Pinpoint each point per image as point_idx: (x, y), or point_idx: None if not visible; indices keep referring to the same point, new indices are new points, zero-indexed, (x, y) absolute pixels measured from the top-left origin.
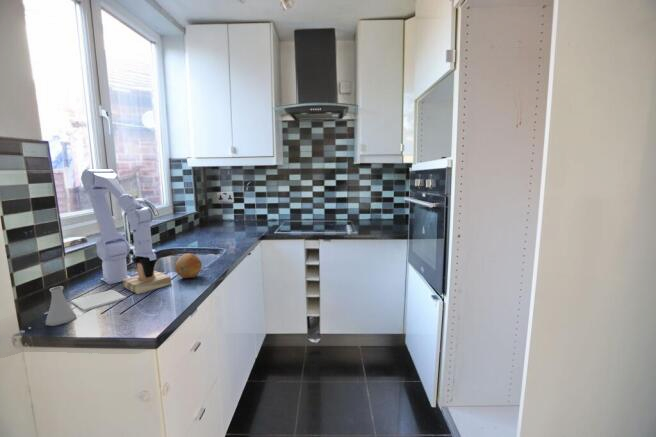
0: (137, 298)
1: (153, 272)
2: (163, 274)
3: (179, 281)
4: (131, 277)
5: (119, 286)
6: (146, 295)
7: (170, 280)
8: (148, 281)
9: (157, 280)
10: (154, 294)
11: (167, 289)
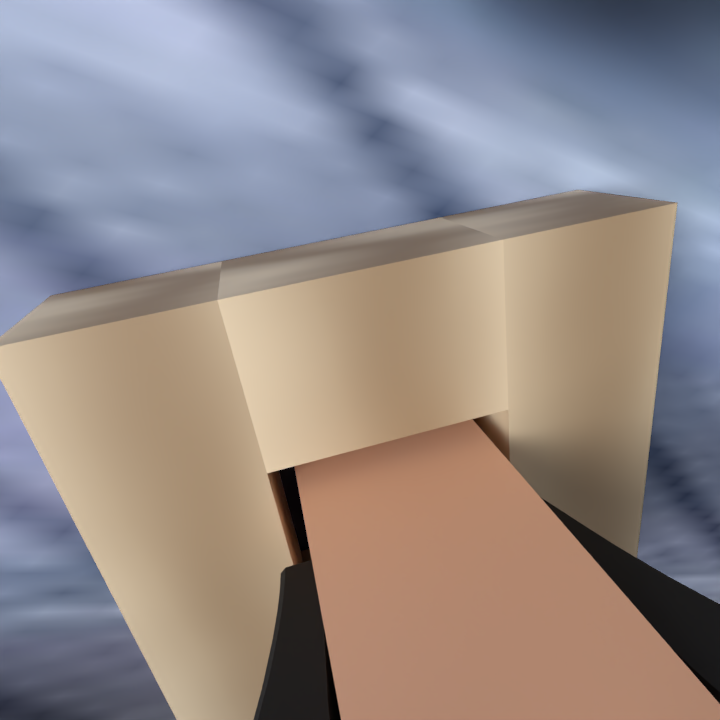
0: (663, 556)
1: (539, 508)
2: (433, 269)
3: (568, 20)
4: (192, 701)
5: (151, 698)
6: (667, 494)
7: (621, 200)
8: (593, 524)
9: (646, 419)
10: (711, 433)
11: (708, 292)
